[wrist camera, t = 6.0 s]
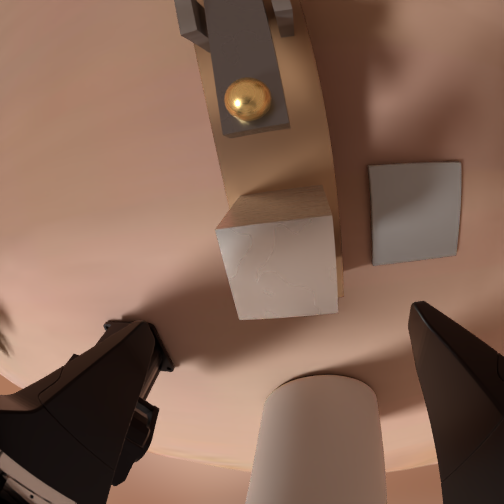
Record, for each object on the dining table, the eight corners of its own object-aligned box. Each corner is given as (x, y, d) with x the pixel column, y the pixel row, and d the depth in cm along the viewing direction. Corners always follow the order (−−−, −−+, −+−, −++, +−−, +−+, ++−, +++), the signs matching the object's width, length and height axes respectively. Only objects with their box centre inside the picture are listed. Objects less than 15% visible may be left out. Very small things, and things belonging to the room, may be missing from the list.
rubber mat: (453, 253, 18) (456, 255, 17) (371, 263, 19) (373, 265, 19) (458, 161, 15) (461, 162, 14) (367, 165, 16) (369, 166, 16)
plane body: (338, 272, 20) (351, 340, 14) (258, 280, 21) (240, 347, 15) (291, -10, 12) (285, -66, 6) (200, 10, 13) (152, -31, 7)
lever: (290, 128, 10) (286, 114, 8) (230, 138, 11) (210, 129, 8) (245, -59, 8) (235, -84, 5) (202, -48, 8) (187, -71, 6)
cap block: (329, 259, 16) (338, 312, 12) (255, 267, 17) (239, 319, 13) (322, 184, 15) (332, 215, 10) (239, 195, 16) (215, 229, 11)
